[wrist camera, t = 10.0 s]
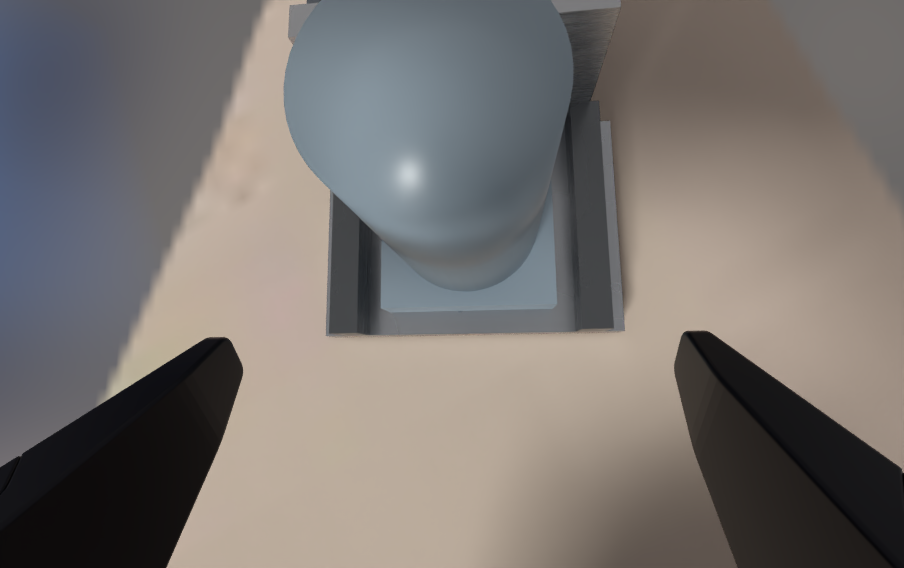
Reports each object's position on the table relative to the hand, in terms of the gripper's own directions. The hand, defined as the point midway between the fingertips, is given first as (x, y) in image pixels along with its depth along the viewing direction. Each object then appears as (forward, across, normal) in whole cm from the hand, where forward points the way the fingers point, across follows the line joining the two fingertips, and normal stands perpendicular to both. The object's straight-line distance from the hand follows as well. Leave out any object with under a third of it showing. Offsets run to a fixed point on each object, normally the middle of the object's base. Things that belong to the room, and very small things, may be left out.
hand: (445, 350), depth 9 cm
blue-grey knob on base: (+9, 0, +2) cm, 9 cm away
